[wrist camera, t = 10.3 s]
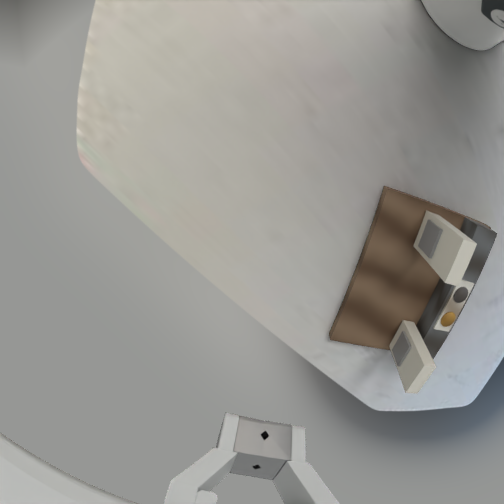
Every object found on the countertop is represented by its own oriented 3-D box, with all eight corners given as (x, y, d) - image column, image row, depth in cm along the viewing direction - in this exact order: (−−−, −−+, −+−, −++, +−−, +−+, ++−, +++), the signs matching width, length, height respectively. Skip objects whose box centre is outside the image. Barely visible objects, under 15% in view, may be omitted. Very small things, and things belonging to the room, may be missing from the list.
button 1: (400, 319, 41) (421, 365, 32) (413, 321, 41) (436, 366, 32) (386, 345, 43) (402, 392, 34) (399, 347, 43) (417, 393, 34)
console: (384, 185, 36) (398, 196, 31) (485, 224, 36) (505, 237, 31) (329, 333, 46) (332, 357, 41) (424, 349, 45) (434, 371, 40)
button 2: (423, 209, 35) (460, 237, 26) (438, 214, 35) (477, 243, 26) (410, 245, 37) (442, 282, 28) (425, 249, 37) (458, 286, 28)
